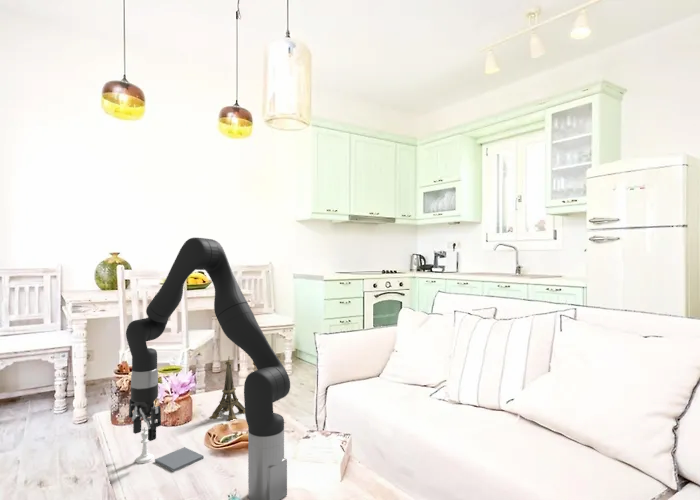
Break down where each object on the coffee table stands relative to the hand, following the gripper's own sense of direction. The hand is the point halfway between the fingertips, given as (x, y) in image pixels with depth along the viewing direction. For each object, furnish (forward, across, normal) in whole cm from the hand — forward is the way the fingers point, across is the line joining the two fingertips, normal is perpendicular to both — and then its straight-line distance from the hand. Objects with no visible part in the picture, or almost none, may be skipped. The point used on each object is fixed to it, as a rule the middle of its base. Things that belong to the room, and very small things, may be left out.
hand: (144, 436), depth 134 cm
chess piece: (+7, 0, 0) cm, 7 cm away
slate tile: (+7, -9, -6) cm, 13 cm away
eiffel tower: (+7, +8, -38) cm, 40 cm away
